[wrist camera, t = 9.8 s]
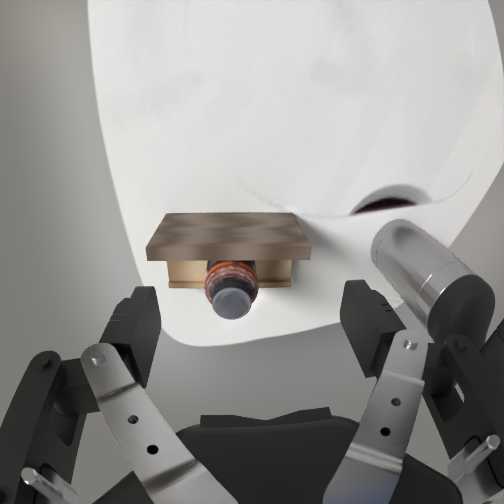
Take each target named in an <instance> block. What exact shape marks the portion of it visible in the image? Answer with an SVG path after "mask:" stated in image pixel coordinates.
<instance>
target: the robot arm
mask: <svg viewBox="0 0 504 504" xmlns="http://www.w3.org/2000/svg"><path fill="white" fill-rule="evenodd" d="M371 255H372V260H373V263H374V264H375V266H376V267H377V268H378V269H379V271H380V272H381V273H382V274H383V275H384V277H385V278H386V279H387V280H388V282H389V283H390V284H391V285H392V287H393V288H394V289H395V290H396V292H397V293H398V294H399V295H400V297H401V298H402V299H403V301H404V302H405V303H406V304H407V306H408V307H409V308H410V310H411V311H412V312H413V313H414V315H415V316H416V317H417V319H418V320H419V321H420V323H421V324H422V325H423V327H424V328H425V329H426V331H427V332H428V333H429V335H430V336H431V338H432V339H433V341H434V343H428V342H427V340H426V338H425V337H424V336H423V335H422V334H420V333H418V332H416V331H413V330H407V329H406V327H405V326H404V324H403V323H402V321H401V320H400V318H399V317H398V315H397V314H396V313H395V311H393V308H392V307H391V305H389V303H388V301H387V300H386V299H385V297H384V296H383V295H381V294H380V293H379V292H377V291H376V290H371V289H370V287H369V286H368V284H367V283H366V282H365V280H348V281H346V283H345V286H344V292H343V297H342V303H341V308H340V321H341V324H342V327H343V329H344V331H345V333H346V335H347V337H348V340H349V342H350V344H351V346H352V348H353V351H354V353H355V355H356V357H357V359H358V362H359V364H360V366H361V368H362V371H363V373H364V375H365V377H366V378H368V377H374V376H376V378H377V382H376V384H375V387H374V389H373V391H372V394H371V396H370V399H369V401H368V403H367V405H366V408H365V410H364V412H363V414H362V417H361V419H360V421H359V423H358V422H356V421H354V420H351V419H348V418H345V417H340V416H333V415H331V412H330V409H329V407H324V408H317V409H309V410H300V411H297V412H293V413H290V414H287V415H284V416H281V417H277V418H274V419H270V420H260V419H253V418H247V417H241V416H235V415H201V419H200V424H197V425H193V426H190V427H187V428H185V429H182V430H180V431H179V432H177V433H174V432H173V431H172V429H171V428H170V427H169V425H168V424H167V423H166V421H165V420H164V419H163V417H162V416H161V414H160V413H159V412H158V410H157V409H156V407H155V406H154V405H153V403H152V402H151V400H150V399H149V397H148V396H147V394H146V393H145V392H144V390H143V388H146V386H147V382H148V378H149V373H150V369H151V365H152V361H153V357H154V353H155V349H156V346H157V342H158V337H159V335H160V331H161V316H160V311H159V306H158V301H157V296H156V291H155V288H154V287H153V286H137V287H136V288H135V289H134V292H133V294H132V296H131V298H124V299H123V300H122V301H121V302H120V303H119V304H118V305H117V306H116V308H115V310H114V312H113V315H112V316H111V318H110V321H109V322H108V324H107V326H106V328H105V330H104V332H103V335H102V337H101V339H100V341H99V343H97V344H93V345H91V346H89V347H88V348H86V349H85V350H84V351H83V353H82V355H81V358H77V359H71V360H64V361H62V360H61V358H60V356H59V355H58V354H57V353H56V352H54V351H44V352H41V353H39V354H37V355H36V356H35V357H34V358H33V359H32V360H31V362H30V364H29V366H28V368H27V370H26V371H25V374H24V376H23V378H22V380H21V382H20V384H19V386H18V388H17V390H16V392H15V395H14V397H13V399H12V401H11V403H10V406H9V408H8V410H7V413H6V415H5V417H4V420H3V423H2V425H1V428H0V504H79V496H78V493H77V492H76V490H75V489H74V488H73V487H72V486H71V481H72V476H73V470H74V465H75V461H76V456H77V452H78V447H79V443H80V439H81V434H82V430H83V427H84V423H85V419H86V415H87V413H92V412H99V411H101V413H102V415H103V417H104V419H105V421H106V423H107V425H108V427H109V429H110V431H111V433H112V435H113V437H114V438H115V440H116V442H117V444H118V445H119V447H120V449H121V451H122V453H123V454H124V456H125V458H126V459H127V461H128V463H129V464H130V466H131V468H132V469H133V470H132V471H131V472H130V473H129V474H128V475H127V476H126V477H124V478H123V479H122V480H121V481H120V482H118V483H117V484H116V485H115V486H113V487H112V488H111V489H110V490H109V491H108V492H106V493H105V494H104V495H103V496H101V497H100V498H99V499H98V500H96V501H95V502H94V503H92V504H490V503H492V502H493V501H495V500H497V499H498V498H500V497H501V496H502V495H504V319H503V320H502V322H501V323H500V324H499V326H498V327H497V329H496V330H495V331H494V332H493V334H492V335H491V336H490V338H489V339H488V340H487V342H486V343H485V339H486V334H487V331H488V328H489V325H490V322H491V319H492V316H493V313H494V308H495V296H494V292H493V290H492V288H491V287H490V286H489V285H488V284H487V283H486V282H485V281H484V280H483V279H482V278H480V277H479V276H478V275H477V274H476V273H475V272H474V271H472V270H471V269H470V268H469V267H468V266H467V265H465V264H464V263H463V262H462V261H460V260H459V259H458V258H457V257H456V256H455V255H454V254H453V253H452V252H451V251H450V250H448V249H447V248H446V247H445V246H443V245H442V244H441V243H439V242H438V241H437V240H436V239H434V238H433V237H432V236H430V235H429V234H428V233H426V232H425V231H424V230H422V229H420V228H418V227H417V226H416V225H414V224H413V223H411V222H410V221H407V220H403V219H399V220H394V221H392V222H389V223H388V224H386V225H385V226H384V227H383V228H382V229H381V230H380V231H379V232H378V233H377V235H376V237H375V239H374V241H373V244H372V249H371ZM457 383H458V385H459V387H460V389H461V390H462V393H463V394H464V403H463V401H462V400H461V398H460V396H459V394H458V392H457V390H456V388H455V386H456V384H457ZM422 395H423V397H424V399H425V402H426V404H427V406H428V408H429V410H430V413H431V415H432V417H433V420H434V422H435V424H436V427H437V429H438V431H439V434H440V436H441V438H442V441H443V443H444V446H445V448H446V451H447V454H448V456H449V459H450V462H449V464H448V469H447V470H448V475H447V477H446V476H444V475H443V474H440V473H439V472H437V471H435V470H434V469H432V468H430V467H428V466H427V465H425V464H424V463H422V462H420V461H418V460H417V459H415V458H414V457H412V456H410V455H409V454H407V453H405V452H406V449H407V446H408V443H409V440H410V437H411V433H412V430H413V427H414V423H415V420H416V416H417V413H418V409H419V405H420V401H421V397H422Z"/></svg>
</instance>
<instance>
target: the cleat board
mask: <svg viewBox="0 0 504 504" xmlns="http://www.w3.org/2000/svg"><path fill="white" fill-rule="evenodd" d="M310 253H311V245H310V243H309V242H308V240H307V238H306V236H305V235H304V233H303V231H302V229H301V228H300V226H299V224H298V222H297V221H296V219H295V217H294V215H293V214H292V213H170V214H166V215H165V217H164V218H163V220H162V222H161V223H160V225H159V226H158V228H157V230H156V231H155V233H154V235H153V236H152V238H151V240H150V241H149V243H148V245H147V246H146V254H147V261H167V267H168V275H169V283H168V284H169V288H204V286H205V277H206V269H207V261H224V260H255V266H256V272H257V278H258V287H259V288H275V287H291V280H290V278H291V267H292V260H310Z"/></svg>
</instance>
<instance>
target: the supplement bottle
mask: <svg viewBox="0 0 504 504" xmlns="http://www.w3.org/2000/svg"><path fill="white" fill-rule="evenodd" d="M258 288H259V287H258V278H257V272H256V266H255V260H224V261H207V269H206V277H205V286H204V289H205V294H206V297H207V299H208V300H209V302H210V303H211V304H212V306H213V309H214V311H215V312H216V313H217V314H218V315H219V316H220V317H223V318H225V319H238V318H241V317H243V316H244V315H246V314H247V313H248V312H249V310H250V308H251V304H252V303H253V301H254V300H255V299H256V297H257V294H258Z"/></svg>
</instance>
